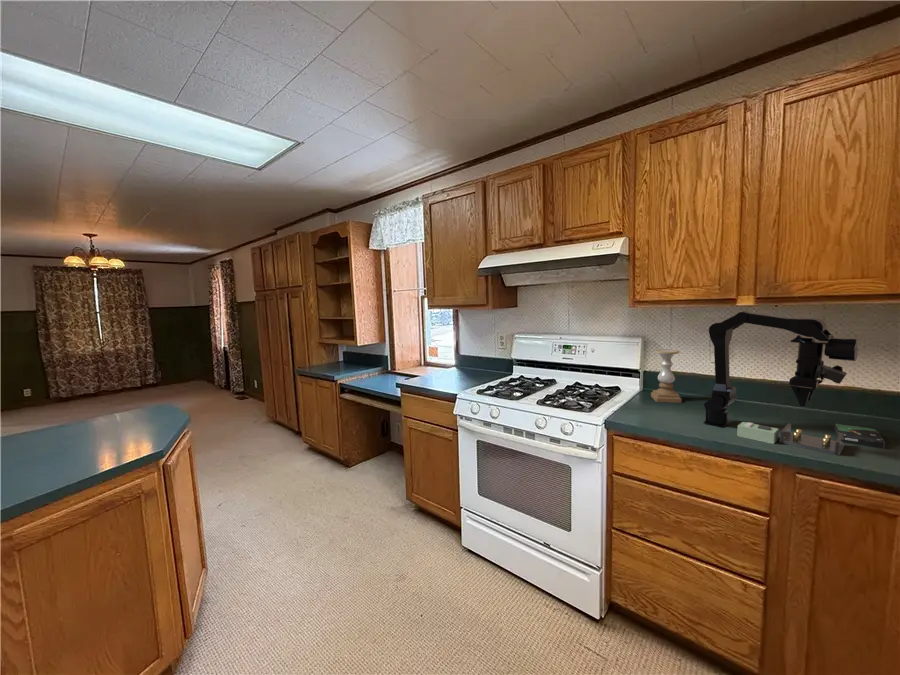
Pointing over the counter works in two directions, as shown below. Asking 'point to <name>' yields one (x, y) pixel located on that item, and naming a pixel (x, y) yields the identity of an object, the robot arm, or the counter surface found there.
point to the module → (757, 432)
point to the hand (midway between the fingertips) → (805, 403)
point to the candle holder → (666, 379)
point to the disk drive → (860, 435)
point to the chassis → (812, 441)
